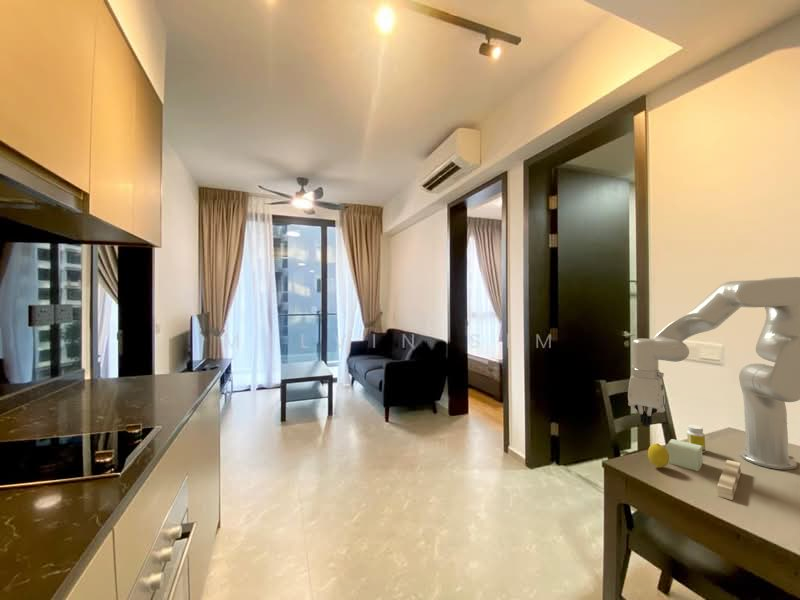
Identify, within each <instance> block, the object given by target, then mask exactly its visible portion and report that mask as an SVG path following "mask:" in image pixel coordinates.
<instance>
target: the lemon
mask: <svg viewBox="0 0 800 600" xmlns="http://www.w3.org/2000/svg"><path fill="white" fill-rule="evenodd" d="M647 456H648V460H649V461H650V463H651V464H652V465H654V466H656V468H658V469H660V468H664V467H667V466H668V464H669V463H668V462H669V454H668V452H667V450H666V447H664V446H663V445H661V444H660V443H653V444H651V445H650V446H649V447H648V450H647Z"/></svg>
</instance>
